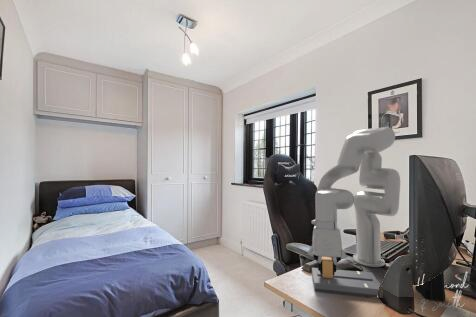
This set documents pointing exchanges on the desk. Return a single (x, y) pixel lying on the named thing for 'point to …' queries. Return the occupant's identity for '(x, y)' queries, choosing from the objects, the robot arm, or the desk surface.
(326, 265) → the fader tab
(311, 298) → the desk surface
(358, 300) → the desk surface
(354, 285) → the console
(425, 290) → the portable radio
